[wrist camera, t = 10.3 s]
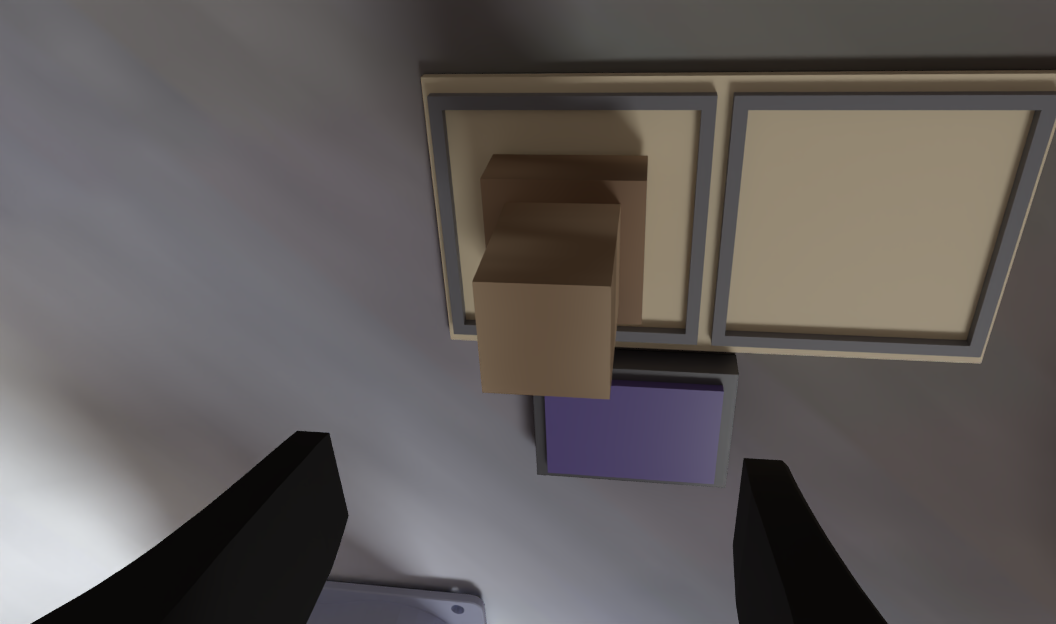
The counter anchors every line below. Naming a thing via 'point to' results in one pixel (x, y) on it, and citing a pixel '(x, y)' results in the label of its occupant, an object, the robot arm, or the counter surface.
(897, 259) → the beige divided tray
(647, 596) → the counter surface
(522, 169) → the stamp
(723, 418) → the ink pad
